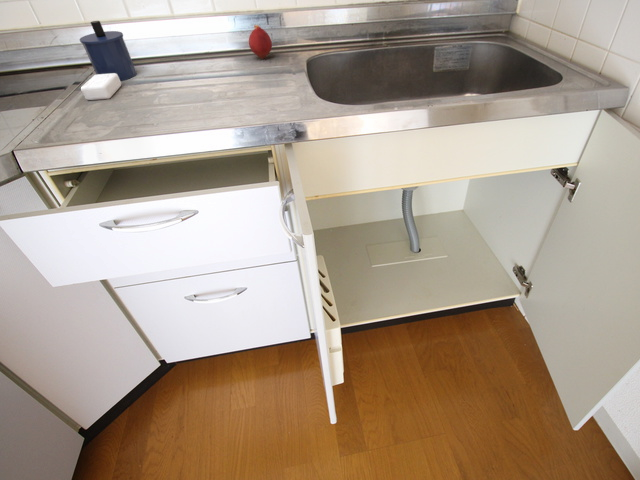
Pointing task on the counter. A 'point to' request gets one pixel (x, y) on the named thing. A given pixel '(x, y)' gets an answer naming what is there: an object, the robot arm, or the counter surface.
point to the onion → (260, 42)
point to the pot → (111, 58)
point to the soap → (101, 86)
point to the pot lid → (100, 35)
